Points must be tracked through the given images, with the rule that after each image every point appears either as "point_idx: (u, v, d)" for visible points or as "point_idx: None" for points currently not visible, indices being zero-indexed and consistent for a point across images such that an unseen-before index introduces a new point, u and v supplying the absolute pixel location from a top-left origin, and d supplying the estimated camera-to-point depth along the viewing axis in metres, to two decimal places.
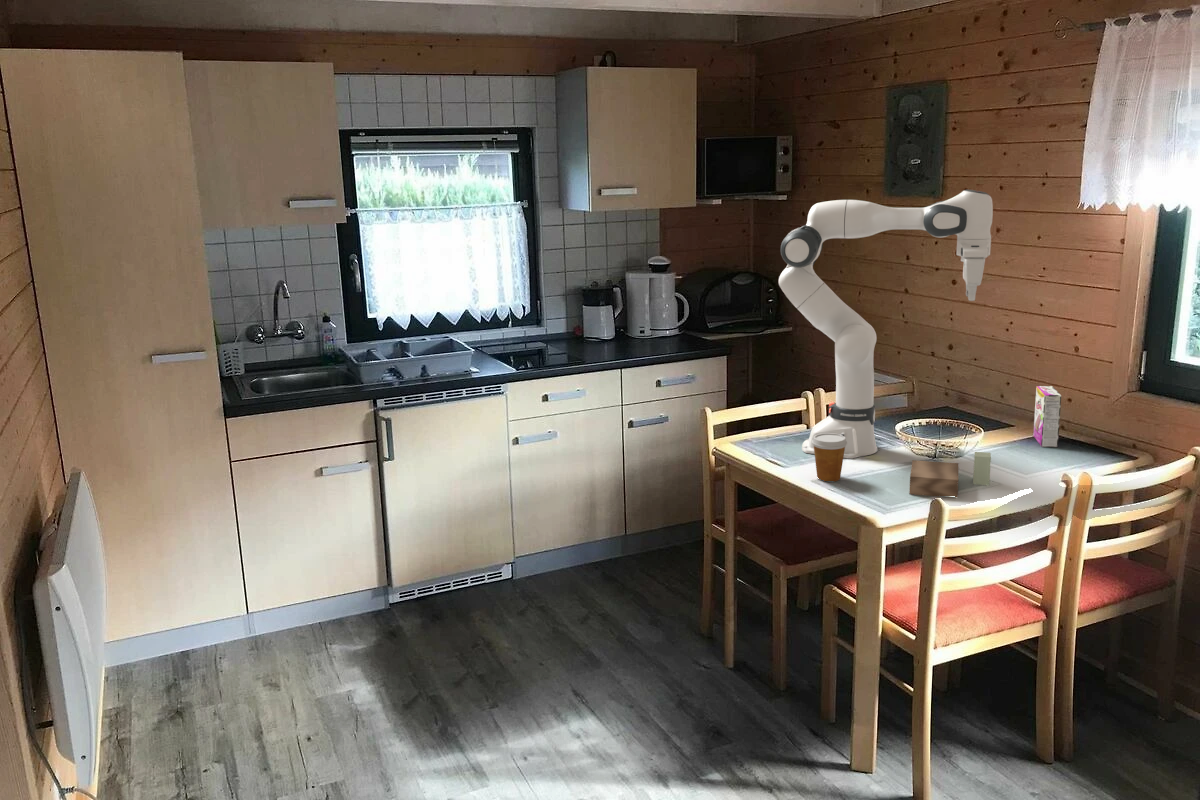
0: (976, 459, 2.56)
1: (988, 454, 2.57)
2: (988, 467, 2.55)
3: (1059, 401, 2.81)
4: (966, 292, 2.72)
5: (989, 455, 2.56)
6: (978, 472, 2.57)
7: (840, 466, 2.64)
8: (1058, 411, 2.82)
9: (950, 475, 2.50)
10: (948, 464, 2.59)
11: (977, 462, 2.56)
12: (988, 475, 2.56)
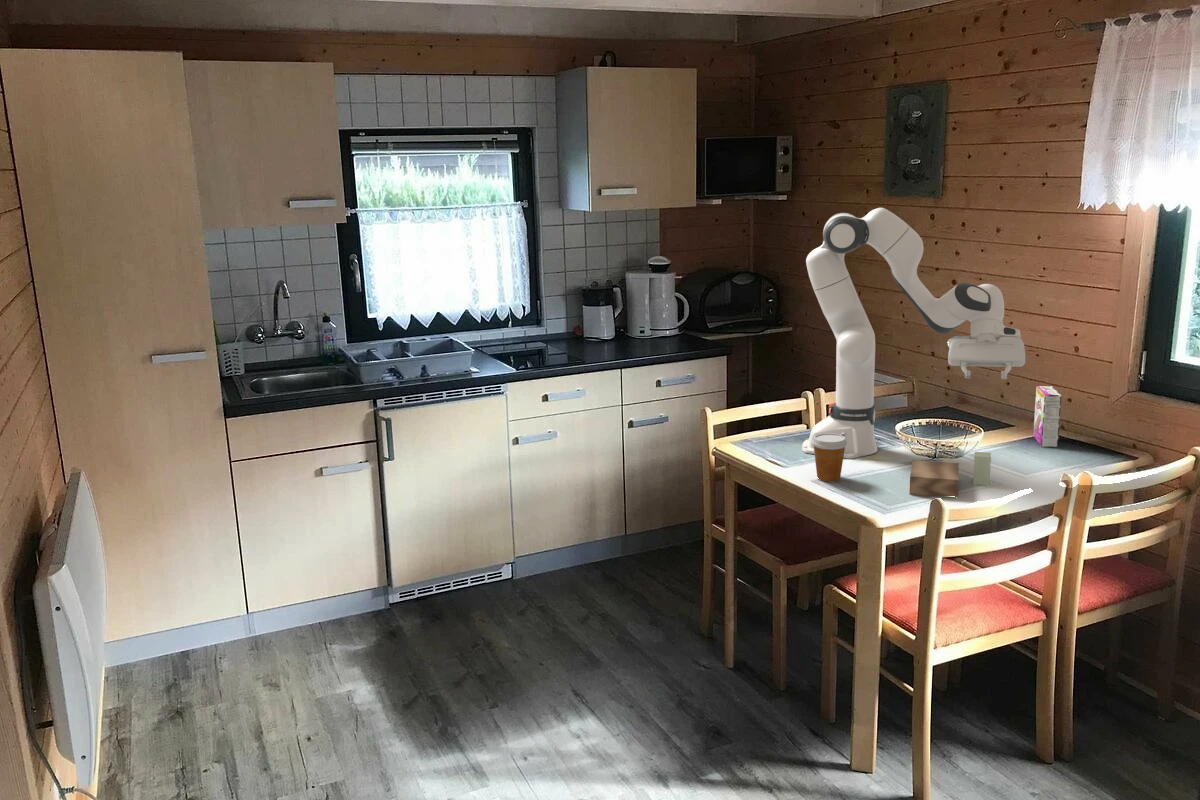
0: (976, 459, 2.56)
1: (988, 454, 2.57)
2: (988, 467, 2.55)
3: (1059, 401, 2.81)
4: None
5: (989, 455, 2.56)
6: (978, 472, 2.57)
7: (840, 466, 2.64)
8: (1058, 411, 2.82)
9: (950, 475, 2.50)
10: (948, 464, 2.59)
11: (977, 462, 2.56)
12: (988, 475, 2.56)
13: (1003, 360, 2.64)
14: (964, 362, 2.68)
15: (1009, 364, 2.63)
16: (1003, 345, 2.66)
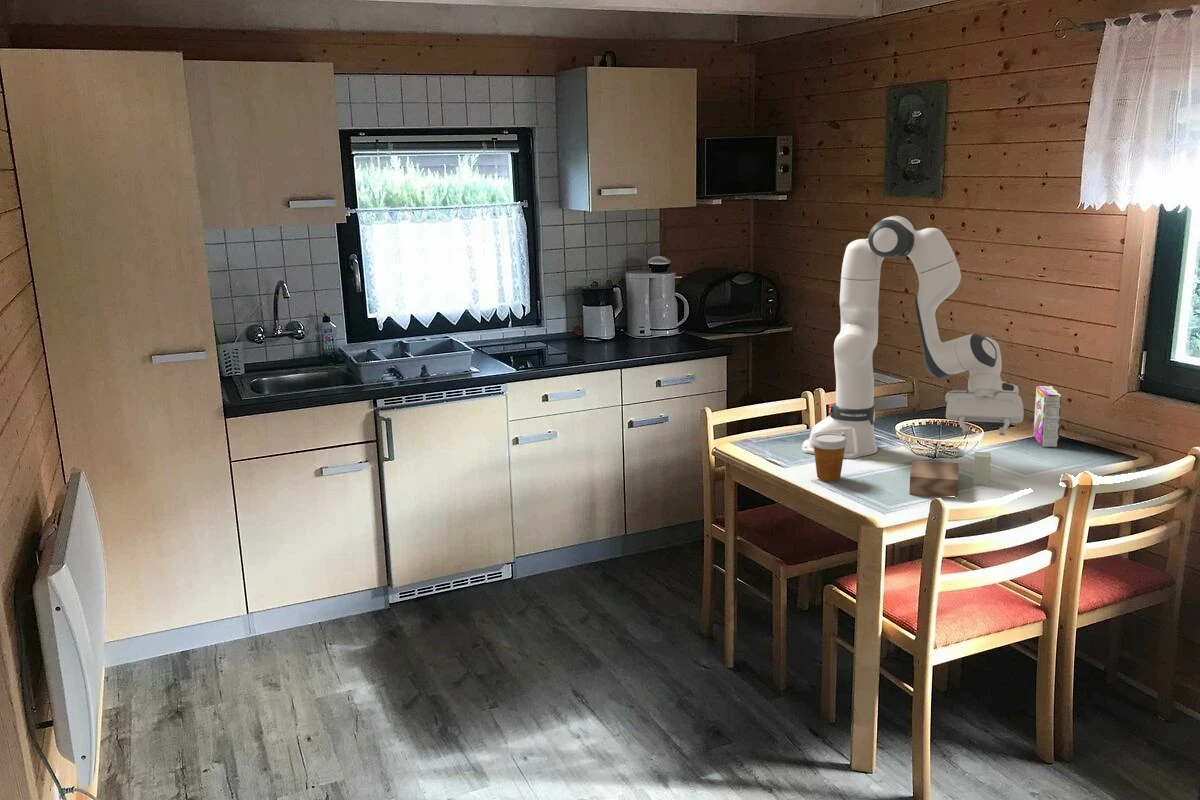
0: (976, 459, 2.56)
1: (988, 454, 2.57)
2: (988, 467, 2.55)
3: (1059, 401, 2.81)
4: (968, 427, 2.64)
5: (989, 455, 2.56)
6: (978, 472, 2.57)
7: (840, 466, 2.64)
8: (1058, 411, 2.82)
9: (950, 475, 2.50)
10: (948, 464, 2.59)
11: (977, 462, 2.56)
12: (988, 475, 2.56)
13: (1001, 416, 2.62)
14: (962, 417, 2.66)
15: (1007, 421, 2.62)
16: (1001, 401, 2.65)
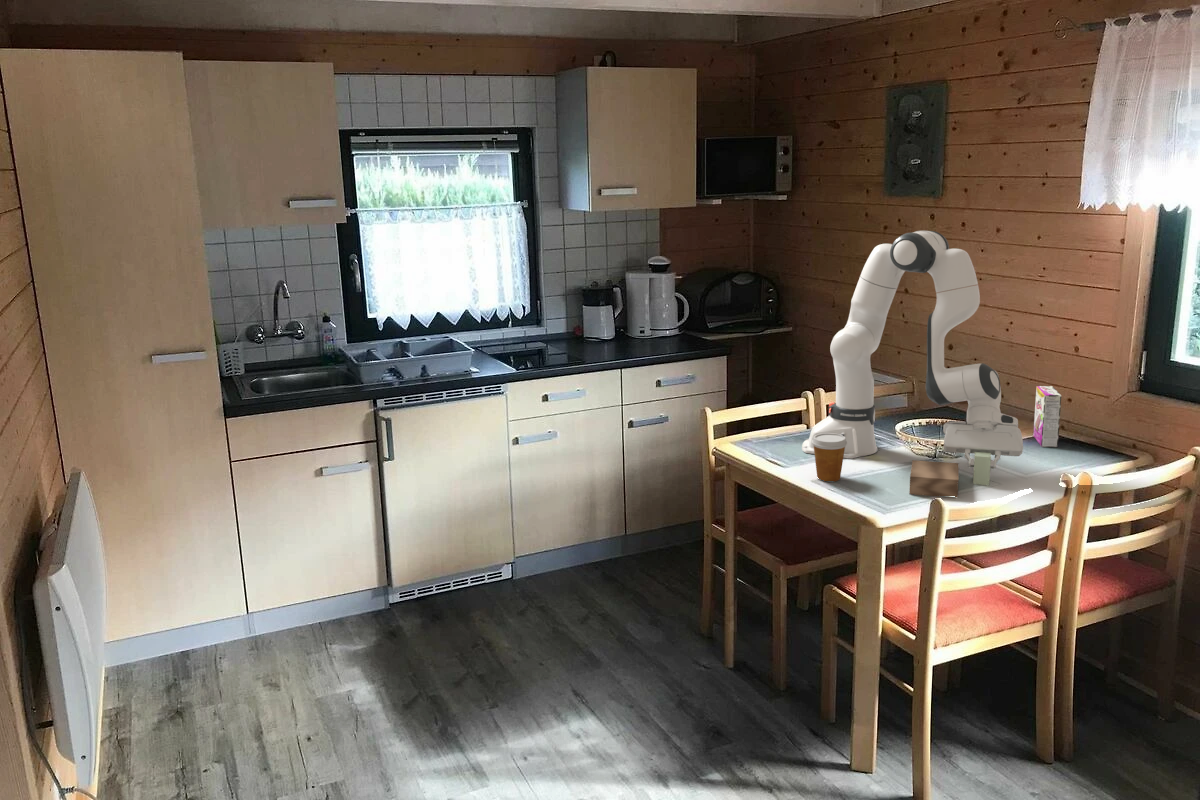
0: (976, 459, 2.56)
1: (988, 454, 2.57)
2: (988, 467, 2.55)
3: (1059, 401, 2.81)
4: None
5: (989, 455, 2.56)
6: (978, 472, 2.57)
7: (840, 466, 2.64)
8: (1058, 411, 2.82)
9: (950, 475, 2.50)
10: (948, 464, 2.59)
11: (977, 462, 2.56)
12: (988, 475, 2.56)
13: (1000, 449, 2.57)
14: (968, 450, 2.60)
15: (998, 453, 2.57)
16: (1000, 433, 2.59)
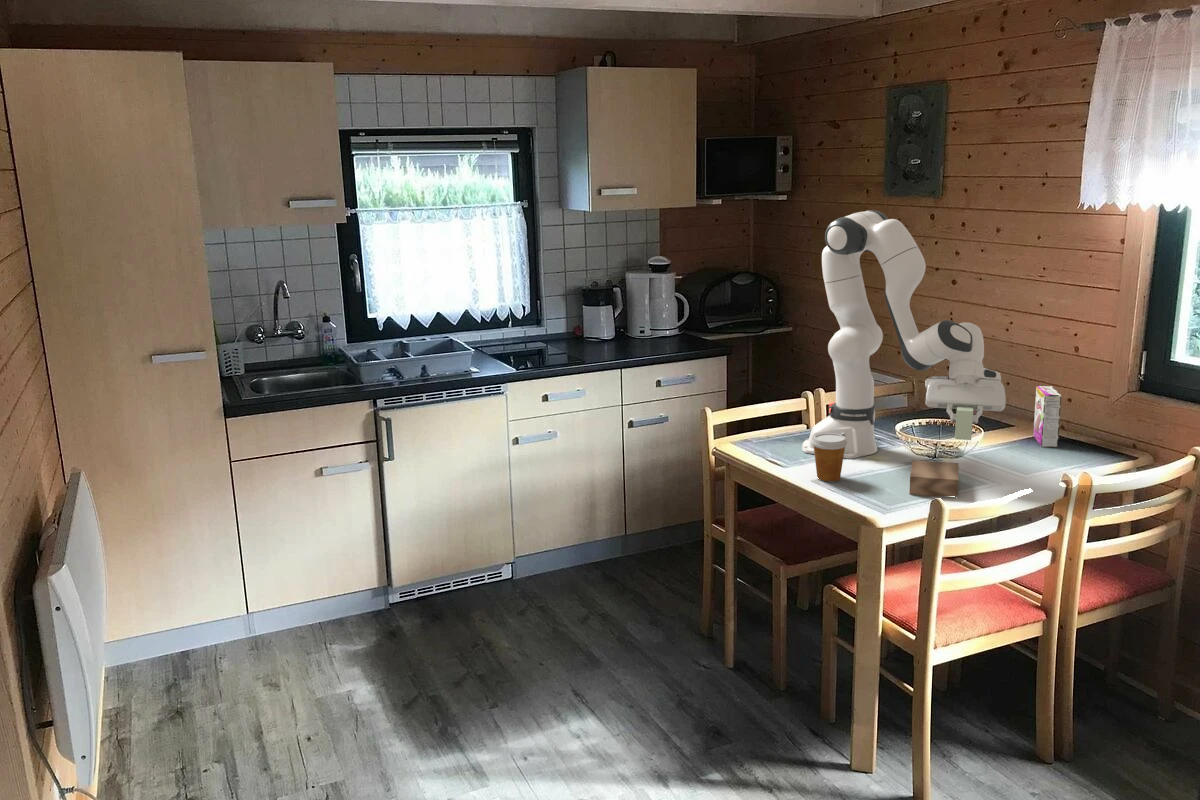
0: (958, 413, 2.52)
1: (970, 408, 2.53)
2: (970, 421, 2.52)
3: (1059, 401, 2.81)
4: (956, 415, 2.54)
5: (971, 409, 2.52)
6: (961, 426, 2.53)
7: (840, 466, 2.64)
8: (1058, 411, 2.82)
9: (950, 475, 2.50)
10: (948, 464, 2.59)
11: (959, 416, 2.52)
12: (970, 430, 2.52)
13: (983, 404, 2.53)
14: (950, 405, 2.56)
15: (981, 408, 2.53)
16: (983, 388, 2.55)
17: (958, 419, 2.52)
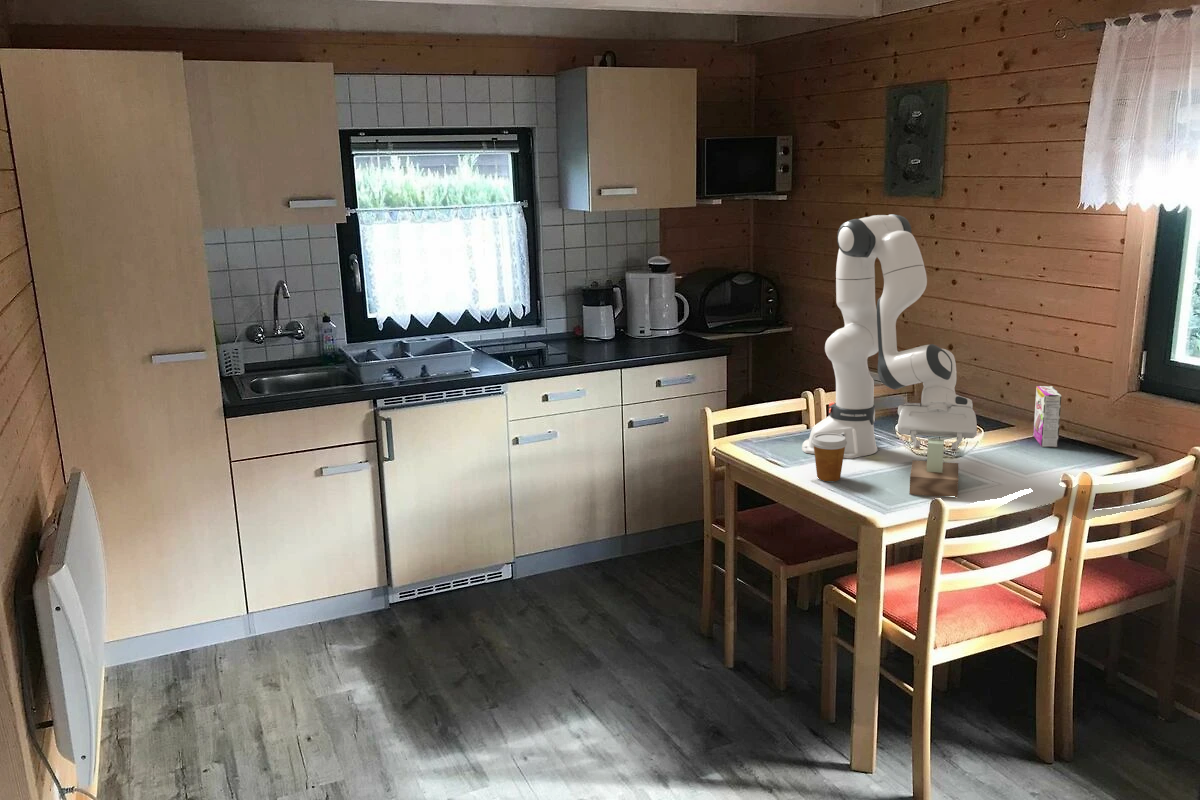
0: (929, 446, 2.52)
1: (941, 441, 2.53)
2: (941, 454, 2.52)
3: (1059, 401, 2.81)
4: (919, 442, 2.55)
5: (942, 442, 2.52)
6: (932, 459, 2.53)
7: (840, 466, 2.64)
8: (1058, 411, 2.82)
9: (950, 475, 2.50)
10: (948, 464, 2.59)
11: (930, 449, 2.53)
12: (941, 462, 2.52)
13: (954, 431, 2.53)
14: (914, 431, 2.57)
15: (960, 436, 2.52)
16: (954, 415, 2.55)
17: (929, 452, 2.53)
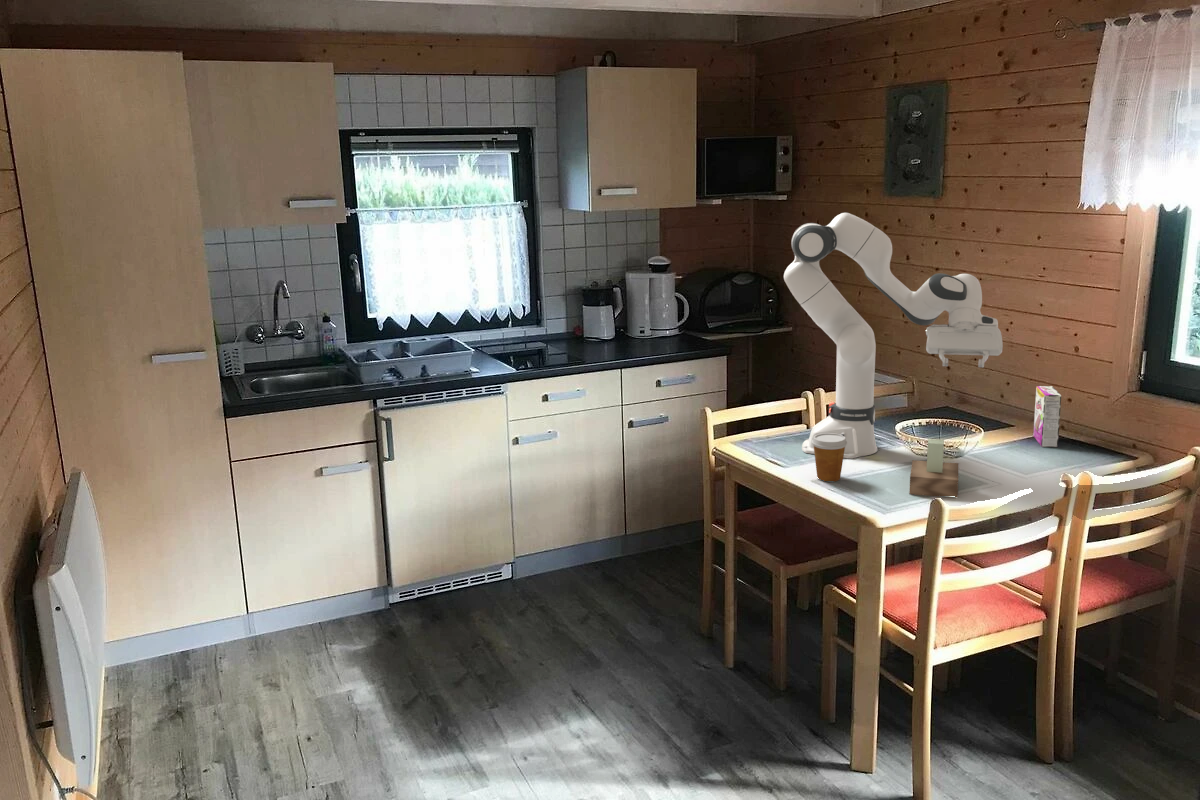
0: (929, 446, 2.52)
1: (941, 441, 2.53)
2: (941, 454, 2.52)
3: (1059, 401, 2.81)
4: (947, 359, 2.67)
5: (942, 442, 2.52)
6: (932, 459, 2.53)
7: (840, 466, 2.64)
8: (1058, 411, 2.82)
9: (950, 475, 2.50)
10: (948, 464, 2.59)
11: (930, 449, 2.53)
12: (941, 462, 2.52)
13: (981, 349, 2.65)
14: (942, 350, 2.69)
15: (986, 353, 2.65)
16: (981, 334, 2.68)
17: (929, 452, 2.53)
